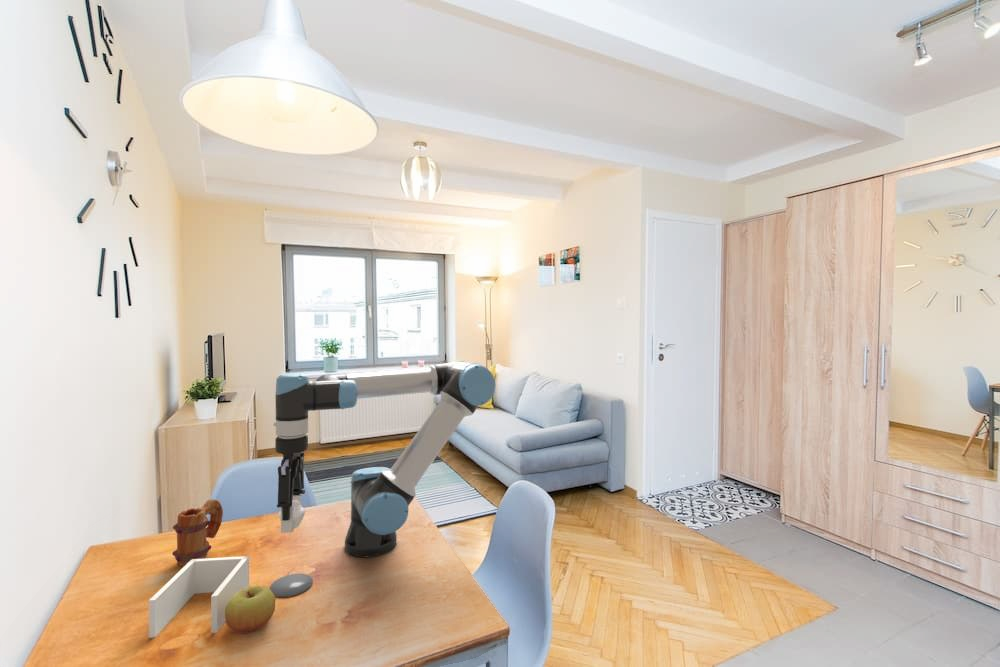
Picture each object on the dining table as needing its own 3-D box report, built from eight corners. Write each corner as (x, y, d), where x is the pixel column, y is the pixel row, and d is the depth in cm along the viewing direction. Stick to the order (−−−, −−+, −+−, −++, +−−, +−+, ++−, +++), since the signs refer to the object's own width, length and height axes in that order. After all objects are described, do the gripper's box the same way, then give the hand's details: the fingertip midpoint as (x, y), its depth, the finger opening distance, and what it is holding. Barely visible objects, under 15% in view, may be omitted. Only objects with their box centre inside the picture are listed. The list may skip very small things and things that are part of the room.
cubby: (249, 587, 116) (249, 556, 116) (217, 632, 99) (217, 595, 99) (191, 591, 114) (191, 559, 114) (148, 637, 97) (148, 600, 97)
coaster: (316, 574, 122) (316, 572, 122) (306, 596, 112) (306, 594, 112) (277, 576, 121) (277, 574, 121) (263, 599, 111) (263, 596, 111)
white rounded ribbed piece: (286, 521, 119) (286, 494, 119) (309, 522, 119) (309, 495, 119) (273, 532, 113) (273, 503, 113) (298, 532, 113) (298, 504, 113)
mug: (189, 572, 122) (189, 516, 122) (164, 569, 124) (164, 514, 124) (232, 547, 136) (232, 497, 136) (208, 544, 138) (208, 494, 138)
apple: (221, 645, 95) (221, 607, 95) (228, 618, 104) (228, 583, 104) (274, 633, 99) (274, 596, 99) (276, 607, 108) (276, 574, 107)
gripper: (288, 427, 125) (287, 511, 125) (262, 445, 106) (261, 544, 106) (317, 426, 126) (316, 510, 126) (296, 444, 107) (295, 542, 107)
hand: (291, 525), depth 116 cm, fingers closed on white rounded ribbed piece, 6 cm apart
